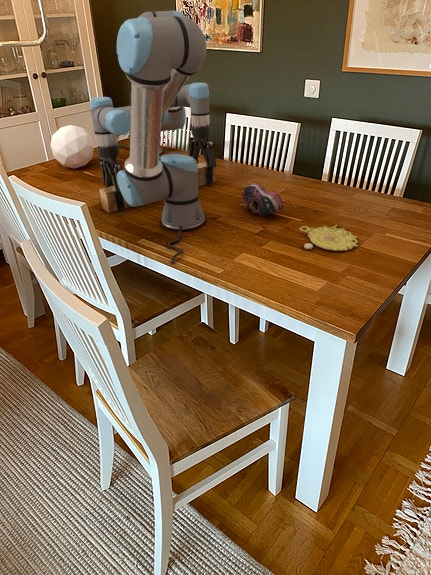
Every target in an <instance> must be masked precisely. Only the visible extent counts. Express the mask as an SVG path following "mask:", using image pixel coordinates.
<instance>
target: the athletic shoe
mask: <svg viewBox="0 0 431 575" xmlns="http://www.w3.org/2000/svg"><path fill="white" fill-rule="evenodd" d="M241 197H242V199H243V201H238V203H239V204H241V205H245V206H246V207H247V208H248V210H249V211H250V210H251V213H252V214H255V215H260V217H266V216H267V215H270V214H274V213H275V212H279V211H282V210H283V209H284V205H283V201H282V198H281V196H280V195H279V194H278V192H277V191H274V190H269V191H267V190H266V189H265V187H264V186H263V185H262V184H261V183H258V182H251V183H249V184H247V186H246V187H245V188H244V190H243V191H242V192H241Z"/></svg>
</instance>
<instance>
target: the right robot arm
mask: <svg viewBox="0 0 431 575" xmlns="http://www.w3.org/2000/svg"><path fill="white" fill-rule="evenodd" d="M138 17H139V16H138ZM138 17H137V18H128V19H126V20H125V21H124V22H123V23H122V24H121V26H120V27H119V30H118V33H117V38H116V39H117V40H116V54H117V60H118V64H119V66H120V69H121V70H122V71H123V72H124V73H125V76H126V78H127V79H128V80H129V81H130V83H131V84H130V85H131V86H130V88H131V90H130V105H128V106H121V107H114V104H113V100H112V98H111V97H109V96H97V97H93V98H90V100H89V110H90V115H91V120H92V126H93V132H94V134H93V135H94V138H95V140H94V141H95V145H96V149H97V156H98V157H99V159H98V162H99V166H100V172H101V179H102V184H103V186H105V188H106V187H110V186H114V187H115V190H116V192H114V193H115V197H116V203H117V209H118V211H121V210H124V209H126V208H125V206H124V200H123V197H124V199H125V201H126V202H127V203H128V204H129V205H130V206H131V207H132V208H133V207H141V206H145V205H148V204H153V203H155V202H159V201H163V200H164V204H163V209H162V213H161V219H160V220H161V225H162V227H163V228H165V229H167V230H170V231H175V232H176V231H177V232H178V233H177V234H178V236H177V238H176V239H174V240H172V241H169V242H168V243H167V246H168V248H170V249H173V250H177V251H178V252H176V253H175V254H174V255H173V256H172V257H171V261H170V265H174V261H175V259H176V257H178V256H179V255H181V254H182V249H181V247H178V246H174V245H172V244H175V243H178V242H179V241H180V240H181V237H182V235H181V234H182V232H185V231H186V232H187V231H192V230H195V229H198V228H201V227H202V226H203V225H204V224H205V223H206V217H205V212H204V210H203V208H202V204H201V202H200V196H199V186H198V169H197V163H196V160H195V159H194V158H192V156H191V157H190V156H189V155H187V154H186V155H185V154H178V153H176V154H175V153H169V154H163V155H161V156H160V155H159V147H160V146H161V136H162V135H161V133H162V131H161V125H164V124H165V123H166V122H167V120H168V110H167V109H168V108H169V106H170V105H171V103H172V102H173V100H174V99H175V97H176V96H177V94H178V93H179V91H180V90H181V88H182V87H183V86H185V85H186V83H187V81H188V80H189V78H190V77H193V76H194V75H196V74H197V73H198V72H199V71H200V70H201V67H202V66H203V64H204V63H205V59H206V56H207V40H206V37H205V35H204V31H203V30H202V28H201V27H200V26H199V25H198V24H197V23H196V22H195V21H194V20H192V18H189V17H186V16H184V17H183V16H174V17H151V18H145V17H139V18H138ZM128 133H129V134H130V136H129V147H130V149H129V157H127V158H126V159H125V161H124V169H123V165H122V164H119V161H118V159H117V157H119V156H120V146H118V145H119V144H118V143H119V142H118V136H124V135H126V134H128ZM159 158H160V159H159ZM123 208H124V209H123ZM120 209H121V210H120Z"/></svg>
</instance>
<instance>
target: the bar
mask: <svg viewBox="0 0 431 575" xmlns="http://www.w3.org/2000/svg"><path fill="white" fill-rule="evenodd" d="M209 165H210V164H209ZM206 168H207V164H206V161H203V162H199V163H198V164H197V169H198V187H202V186H206V185H209V184H210V183H208V184H207V179H206ZM216 180H217V179H216V167H213V182H212V183H215V182H216ZM98 192H99V197H100V202H101V207H102V210H104V211H105V212H107V213H109V214H111V213H114V212H117V211H121V210H124V209H128V208H131V207H132V206H130V205H129V204H128V203H127V202H126V201H125V199H124V197H123V200H124V206H125V208H123V209H120V210H118V209H117V203H116V197H115V193H114V192H116V190H115V187H114V186H110V187H106V186H105V187H103V188H99V191H98Z"/></svg>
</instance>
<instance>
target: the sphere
mask: <svg viewBox="0 0 431 575" xmlns="http://www.w3.org/2000/svg"><path fill="white" fill-rule="evenodd" d="M50 148H51V152H52V155H53V158H54V159H55V160H56V161H57V162H58V163H60V164H61V165H62V166H63V167H66V168H70V169H72V170H73V169H74V170H75V169H79V168H82V167H84V166H86V165H87V164H88V163H89V162H91V160H93V157H94V149H95V146H94V142H93V138H92V136H91V135H90V134H89V133H88V132H87V131H86V130H85V129H84V128H83V127H82V126H81V127H80V126H77V125H74V124H69V125H65V126H62V127H60V128H58V129H57V131H55V132H54V133H53V134H52V136H51V141H50Z"/></svg>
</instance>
